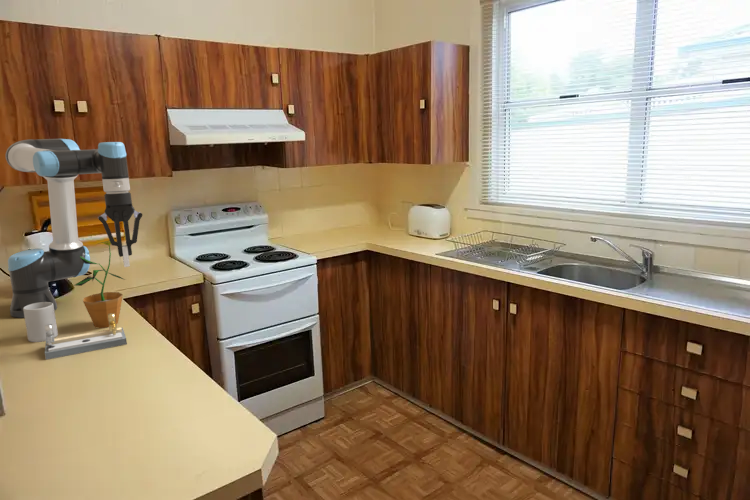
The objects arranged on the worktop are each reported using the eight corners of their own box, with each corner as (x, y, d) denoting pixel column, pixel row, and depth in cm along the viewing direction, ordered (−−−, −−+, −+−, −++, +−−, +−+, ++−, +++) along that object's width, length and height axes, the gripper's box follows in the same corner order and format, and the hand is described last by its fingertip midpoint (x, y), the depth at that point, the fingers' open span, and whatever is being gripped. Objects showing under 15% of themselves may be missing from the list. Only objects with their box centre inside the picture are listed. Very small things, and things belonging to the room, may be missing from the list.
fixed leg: (47, 339, 167) (44, 323, 166) (54, 338, 168) (52, 322, 167) (46, 347, 161) (44, 331, 160) (54, 345, 162) (51, 329, 161)
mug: (56, 339, 175) (51, 307, 173) (25, 344, 172) (20, 311, 170) (61, 328, 186) (56, 297, 184) (32, 332, 183) (27, 301, 180)
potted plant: (122, 312, 201) (112, 233, 195) (141, 324, 188) (132, 239, 182) (69, 324, 189) (57, 241, 183) (86, 337, 176) (74, 248, 170)
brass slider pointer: (109, 328, 175) (107, 312, 174) (116, 327, 176) (114, 311, 175) (111, 335, 169) (109, 319, 168) (118, 334, 170) (116, 318, 169)
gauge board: (46, 346, 169) (45, 337, 169) (123, 332, 180) (122, 324, 179) (45, 359, 159) (44, 350, 158) (126, 344, 169) (125, 335, 169)
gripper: (94, 194, 162) (105, 271, 166) (141, 191, 168) (150, 265, 172) (93, 193, 168) (103, 266, 173) (138, 190, 174) (147, 261, 179)
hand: (126, 265), depth 173 cm, fingers closed
